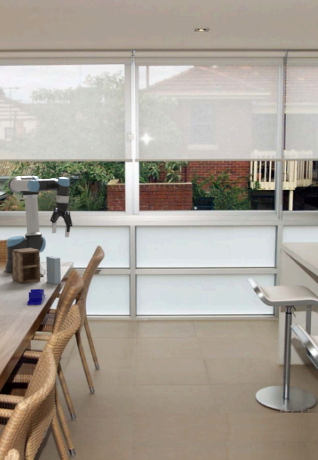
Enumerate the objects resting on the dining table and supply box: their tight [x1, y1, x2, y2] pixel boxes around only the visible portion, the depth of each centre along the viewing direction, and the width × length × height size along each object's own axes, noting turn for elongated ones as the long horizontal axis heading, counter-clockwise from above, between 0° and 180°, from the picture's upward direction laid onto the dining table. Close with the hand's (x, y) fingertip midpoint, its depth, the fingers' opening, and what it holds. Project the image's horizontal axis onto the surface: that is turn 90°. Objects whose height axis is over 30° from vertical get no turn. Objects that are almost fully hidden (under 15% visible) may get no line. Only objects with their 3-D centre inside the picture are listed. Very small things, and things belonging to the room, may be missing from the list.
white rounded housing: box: [40, 263, 46, 278], centre depth 398 cm, size 17×5×10 cm, turn 7°
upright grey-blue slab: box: [45, 255, 62, 285], centre depth 373 cm, size 10×5×16 cm, turn 41°
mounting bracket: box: [27, 288, 46, 306], centre depth 328 cm, size 18×7×6 cm, turn 4°
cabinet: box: [11, 248, 42, 285], centre depth 377 cm, size 12×14×20 cm
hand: (60, 234), depth 382 cm, fingers open, 13 cm apart
